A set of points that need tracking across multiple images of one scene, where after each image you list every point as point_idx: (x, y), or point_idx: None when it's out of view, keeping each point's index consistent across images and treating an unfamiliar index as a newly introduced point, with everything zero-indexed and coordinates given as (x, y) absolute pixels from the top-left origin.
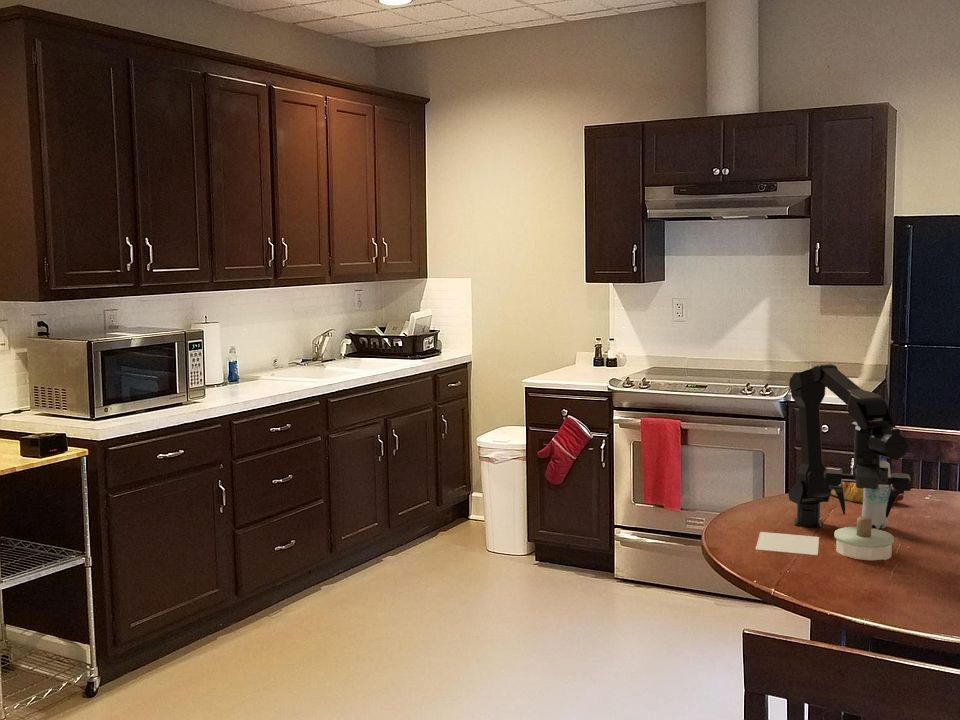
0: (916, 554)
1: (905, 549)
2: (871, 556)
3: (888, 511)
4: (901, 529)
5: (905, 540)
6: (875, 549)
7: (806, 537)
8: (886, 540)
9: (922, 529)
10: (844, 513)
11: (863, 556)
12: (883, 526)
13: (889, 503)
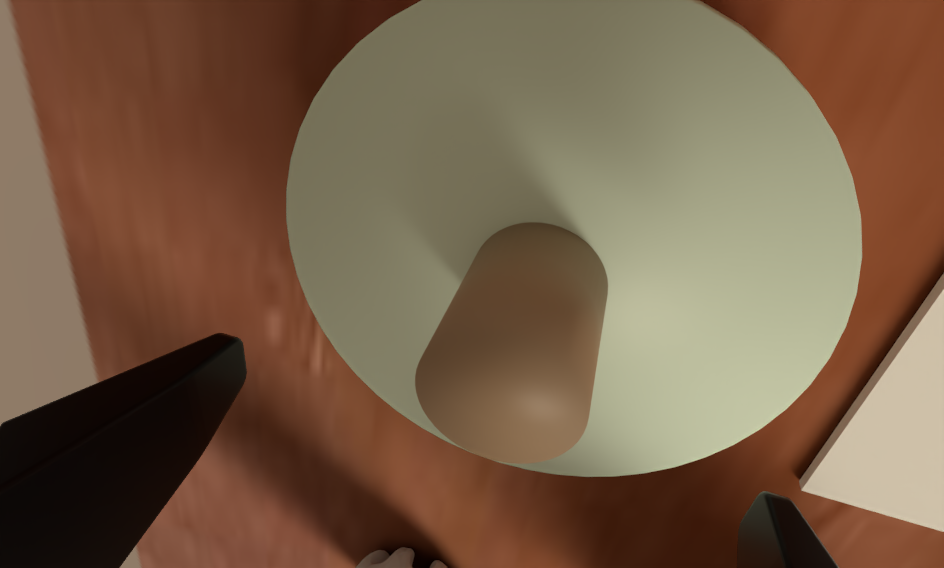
0: (222, 195)
1: (284, 282)
2: None
3: (147, 374)
4: (305, 533)
5: (287, 412)
6: None
7: (915, 492)
8: (348, 131)
9: (224, 520)
10: (775, 501)
11: None
12: (375, 557)
13: (12, 456)
